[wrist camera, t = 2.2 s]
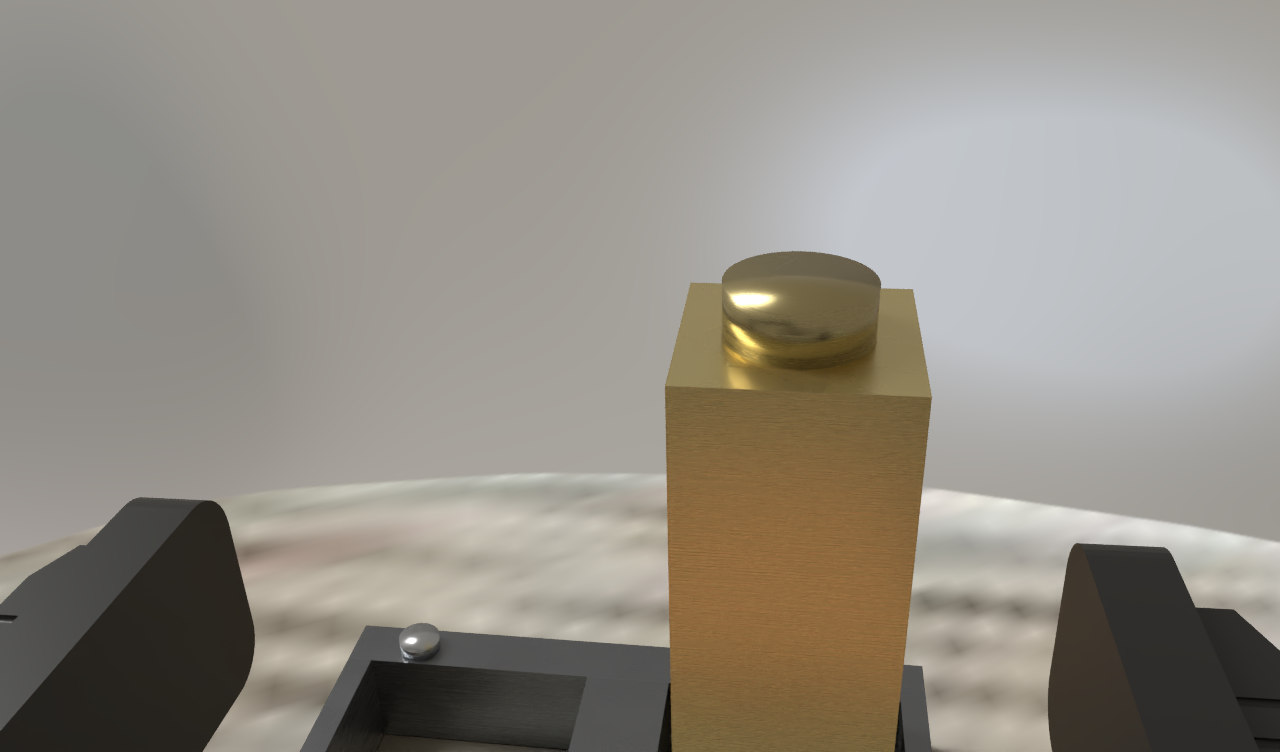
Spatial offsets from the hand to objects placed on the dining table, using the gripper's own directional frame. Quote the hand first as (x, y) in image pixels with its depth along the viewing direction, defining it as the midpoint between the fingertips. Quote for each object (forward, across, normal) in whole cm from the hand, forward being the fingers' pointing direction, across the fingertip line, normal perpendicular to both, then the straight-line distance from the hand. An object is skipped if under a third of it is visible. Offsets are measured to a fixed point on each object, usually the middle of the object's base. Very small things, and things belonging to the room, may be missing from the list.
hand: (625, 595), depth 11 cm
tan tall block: (+13, -1, +19) cm, 24 cm away
